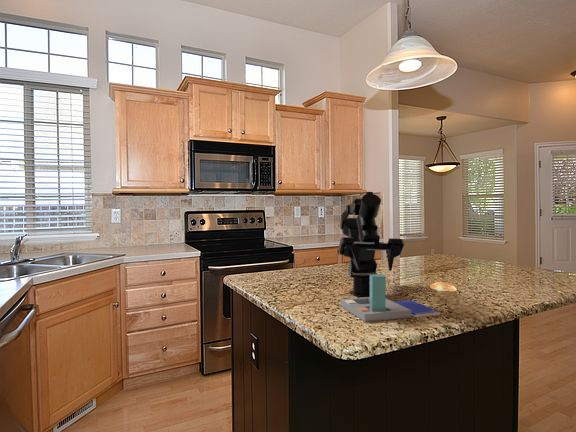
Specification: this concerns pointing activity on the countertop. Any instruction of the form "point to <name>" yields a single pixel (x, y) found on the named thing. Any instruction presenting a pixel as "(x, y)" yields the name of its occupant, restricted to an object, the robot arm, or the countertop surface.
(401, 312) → the socket board
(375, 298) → the plug
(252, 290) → the countertop surface
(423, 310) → the hard drive
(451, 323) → the countertop surface
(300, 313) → the countertop surface
